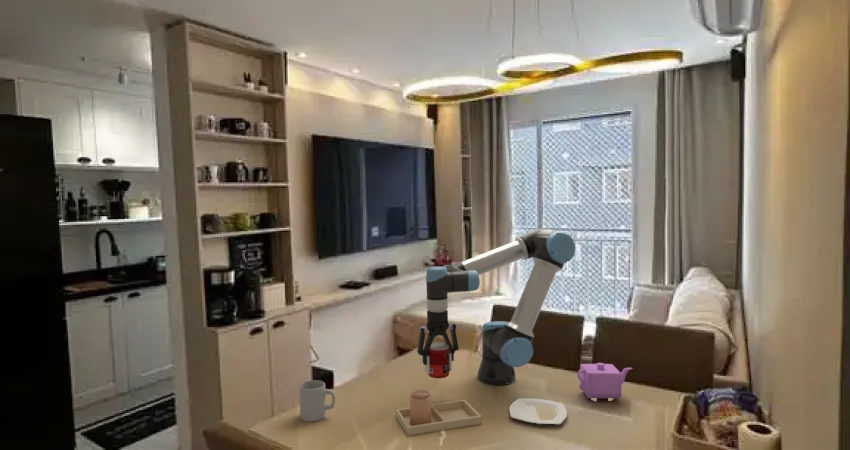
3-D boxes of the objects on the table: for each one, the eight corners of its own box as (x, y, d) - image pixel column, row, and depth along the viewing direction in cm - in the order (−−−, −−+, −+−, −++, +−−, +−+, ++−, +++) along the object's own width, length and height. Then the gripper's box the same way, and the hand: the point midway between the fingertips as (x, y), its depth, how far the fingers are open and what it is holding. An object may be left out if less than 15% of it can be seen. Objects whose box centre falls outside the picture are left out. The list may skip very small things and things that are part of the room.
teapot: (580, 402, 181) (581, 368, 180) (573, 391, 191) (573, 358, 190) (637, 403, 180) (637, 368, 180) (626, 392, 190) (627, 359, 190)
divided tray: (464, 407, 177) (464, 399, 176) (481, 425, 163) (481, 416, 163) (395, 418, 169) (395, 409, 168) (407, 437, 155) (407, 428, 155)
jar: (427, 416, 168) (427, 388, 168) (434, 425, 162) (434, 396, 161) (407, 419, 166) (407, 390, 166) (413, 429, 160) (413, 398, 159)
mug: (296, 421, 166) (295, 389, 166) (304, 410, 175) (304, 379, 174) (332, 422, 166) (331, 390, 165) (338, 411, 174) (338, 380, 173)
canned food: (447, 379, 179) (447, 349, 178) (425, 378, 181) (425, 348, 180) (451, 371, 186) (450, 342, 186) (429, 370, 188) (429, 341, 187)
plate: (568, 408, 177) (569, 402, 177) (565, 432, 159) (565, 426, 159) (514, 400, 183) (514, 395, 183) (504, 423, 165) (504, 418, 165)
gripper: (459, 305, 189) (460, 364, 190) (406, 310, 182) (408, 371, 184) (467, 309, 182) (468, 371, 183) (413, 315, 175) (414, 378, 177)
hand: (438, 371), depth 183 cm, fingers closed on canned food, 8 cm apart
